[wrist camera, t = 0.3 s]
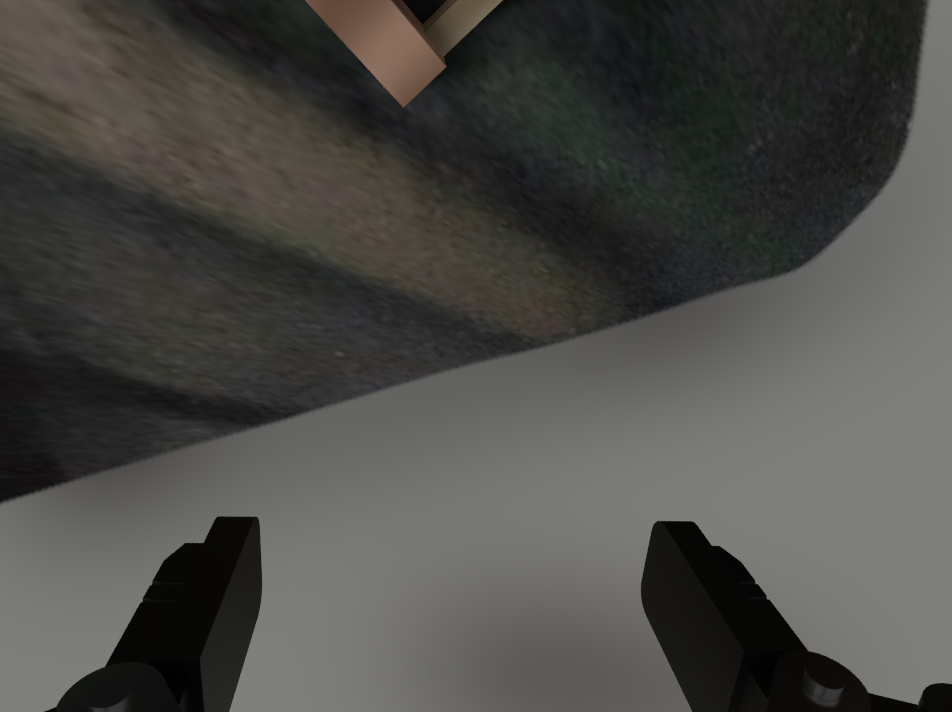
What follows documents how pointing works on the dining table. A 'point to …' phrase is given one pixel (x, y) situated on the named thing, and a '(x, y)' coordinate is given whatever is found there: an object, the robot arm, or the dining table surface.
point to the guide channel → (401, 37)
